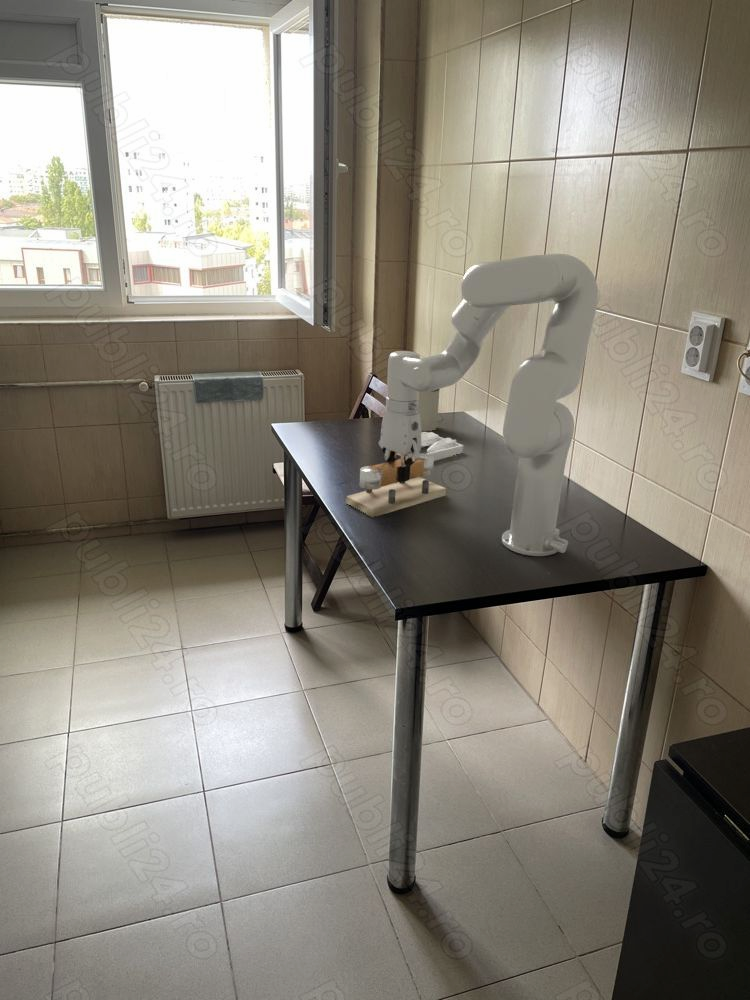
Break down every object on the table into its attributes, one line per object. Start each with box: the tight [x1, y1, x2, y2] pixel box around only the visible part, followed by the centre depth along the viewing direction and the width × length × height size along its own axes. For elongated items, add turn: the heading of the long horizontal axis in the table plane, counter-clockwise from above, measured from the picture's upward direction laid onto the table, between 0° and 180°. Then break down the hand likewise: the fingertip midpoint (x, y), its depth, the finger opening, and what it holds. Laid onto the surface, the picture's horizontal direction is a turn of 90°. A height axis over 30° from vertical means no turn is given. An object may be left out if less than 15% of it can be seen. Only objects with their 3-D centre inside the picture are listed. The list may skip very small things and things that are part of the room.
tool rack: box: [345, 476, 447, 518], centre depth 179 cm, size 10×24×5 cm, turn 130°
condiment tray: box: [396, 431, 465, 462], centre depth 216 cm, size 16×17×2 cm
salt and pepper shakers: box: [421, 431, 457, 453], centre depth 218 cm, size 12×4×11 cm
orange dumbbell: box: [359, 453, 435, 490], centre depth 177 cm, size 5×22×4 cm, turn 130°
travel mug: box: [418, 388, 441, 432], centre depth 235 cm, size 8×8×18 cm
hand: (397, 477), depth 178 cm, fingers closed on orange dumbbell, 4 cm apart
